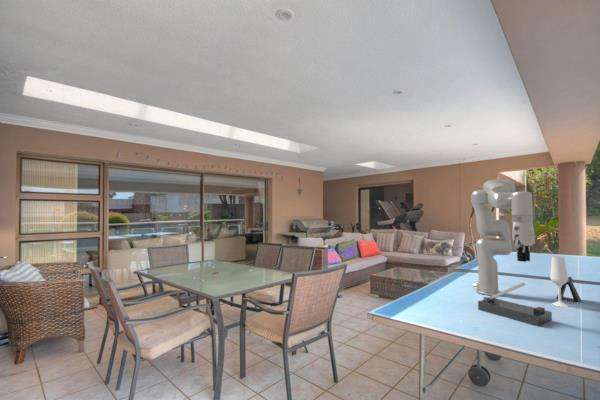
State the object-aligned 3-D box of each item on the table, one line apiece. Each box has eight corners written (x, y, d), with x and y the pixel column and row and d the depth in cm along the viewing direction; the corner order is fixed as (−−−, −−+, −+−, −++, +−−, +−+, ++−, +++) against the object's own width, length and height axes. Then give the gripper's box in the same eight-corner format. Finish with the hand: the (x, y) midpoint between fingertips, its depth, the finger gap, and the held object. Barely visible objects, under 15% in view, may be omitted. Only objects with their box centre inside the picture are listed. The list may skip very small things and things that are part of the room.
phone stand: (581, 300, 154) (580, 277, 155) (579, 302, 150) (578, 279, 151) (558, 296, 161) (557, 274, 162) (556, 298, 157) (555, 276, 158)
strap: (487, 300, 140) (485, 298, 140) (491, 299, 142) (490, 297, 142) (521, 285, 127) (520, 283, 128) (526, 284, 129) (524, 282, 130)
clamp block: (478, 309, 139) (477, 297, 140) (492, 305, 145) (491, 294, 145) (538, 326, 118) (537, 312, 119) (551, 321, 124) (551, 307, 125)
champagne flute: (572, 307, 142) (570, 258, 143) (556, 306, 144) (554, 257, 145) (563, 303, 149) (561, 256, 150) (548, 302, 150) (546, 255, 151)
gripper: (522, 219, 122) (524, 263, 121) (540, 219, 130) (542, 260, 129) (503, 219, 129) (504, 261, 128) (521, 219, 137) (523, 258, 136)
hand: (523, 260), depth 129 cm, fingers closed
